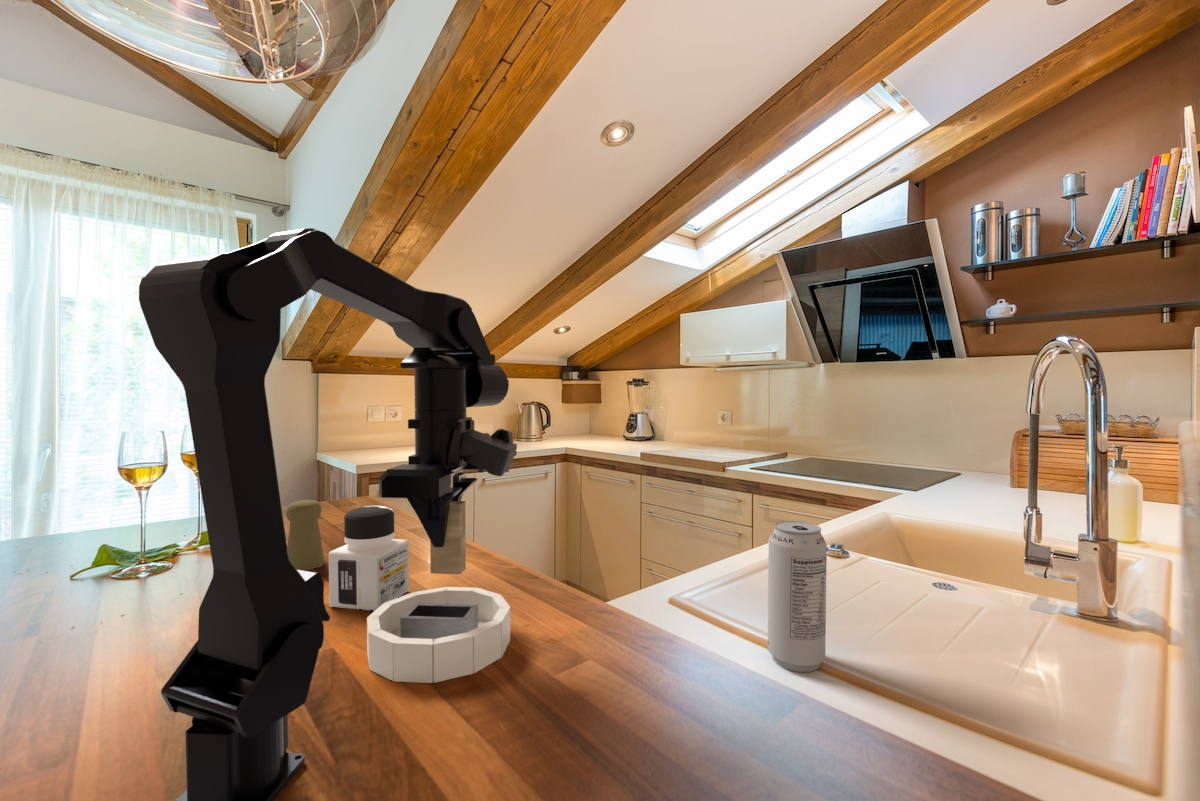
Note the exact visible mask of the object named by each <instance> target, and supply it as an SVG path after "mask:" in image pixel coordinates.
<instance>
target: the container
mask: <svg viewBox="0 0 1200 801" xmlns="http://www.w3.org/2000/svg"><path fill="white" fill-rule="evenodd" d="M343 518H344V519H343V520H344V521H343V522H344V523H343V524H344V528H343V529H344V532H343V533H344V543H345V544H344V545H342V546H339V547H337V548H334V549H333V550H330V551H329V553H328V591H329V592H328V597H329V598H328V599H329V603H328V604H329V607H331V608H340V609H350V610H359V609H362V610H363V611H370V610H373V611H372V612H374V611H375V610H376V609H377V608H379V607H380V606H381V605H382V604H383V603H385V602H388V601H391V600H393V599H396V598H398V597H401V596H404V595H405V594H406V593H407V592H409V590H410V569H409V565H410V564H409V559H410V556H409V554H410V552H409V551H410V550H409V540H408V539H400V538H395V511H394V510H393V509H392V508H390V507H387V506H383V505H369V506H368V505H367V506H360V507H359V506H358V507H355V508H353V509H351V510H349V511H347V512H346V513H345V514H344V517H343ZM362 610H361V611H362Z"/></svg>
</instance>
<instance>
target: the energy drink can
mask: <svg viewBox="0 0 1200 801" xmlns="http://www.w3.org/2000/svg"><path fill="white" fill-rule="evenodd" d="M821 532H822V528H821V526H819V525H817V524H815V523H812V522H807V521H800V520H783V521H777V522H775V523H774V529H773V530H772V533H771V534H770V536H769V537H768V554H767V555H768V558H767V559H768V560H767V561H768V568H767V569H768V572H767V576H768V578H767V581H768V582H767V651H768V653H769V654H770V655H771V656H772V657H771V658H772V660H773V661H774V663H775V664H776V665H778V666H780V667H781V668H783V669H786V670H790V671H792V672H796V673H797V672H799V673H809V672H815V671H816V670H817V669H818V668H820V666H821V664H822V662H824V661H825V659H826V636H827V635H826V631H827V630H826V624H827V622H826V621H827V559H828V558H827V557H828V556H827V555H828V554H827V552H828V551H827V549H828V548H827V545H828V544H827V542H826V540H825V538H824V536H823V534H822V533H821Z"/></svg>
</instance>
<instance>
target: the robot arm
mask: <svg viewBox="0 0 1200 801" xmlns="http://www.w3.org/2000/svg"><path fill="white" fill-rule="evenodd" d="M310 290H311V291H312V292H316V293H318V294H319V295H322V296H325V297H326V298H329V299H331V300H333V301H335V302H338V303H340V304H341V305H342V304H343V305H345V306H347V307H349V308H351V309H353V310H355V311H358V312H361V313H363V314H365V315H367V316H370V317H372V318H374V319H377V320H379V321H381V322H384V323H385V324H386V325H388V326H389V327H391V328H392V330H393V332H394V334H395V336H396V337H397V338H398V339H399V340H401V341H402V342H404V343H405V344H406V345H408V346H410V347H411V348H412V349H413V350H412V352H410V354H409V355H408V356H407V357H405V358H403V360H402V361H401V362H400V364H399V365H400V368H401V369H402V370H404V369H405V370H414V373H413V374H414V378H413V380H414V418H409V419H407V429H408V430H409V429H410V430H411V429H414V447H415V448H414V453H415V454H412V455H409V456H408V459H407V460H408V463H405V464H403V463H402V464H399V465H396V466H393V467H389V468H388V469H386V470H385V471H384V472H383V473H382V474H381V476H379V477H378V497H379V498H383V499H384V498H385V499H387V498H388V499H390V498H391V499H407V501H408V503H409V505H410V506H411V507H412V509H413V511H414V513H415V514H416V516H417V517H418V520H419V521H420V523H421V526H422V527H423V530H424V531H425V533H426V534H427V536H428V539H429V541H430V540H431V542H432V544H433V546H434V547H443V546H444V543H445V537H446V530H447V522H448V514H449V507H450V502H451V501H462V499H463V495H464V494H465V492H467V491H468V489H470V488H471V487H472V486H473V485H474V484H475V483H476V482H477V481H478V478H477V477H467V472H465V471H464V470H478V473H485V472H487V473H488V474H490V475H492V476H494V477H495V476H496V477H502V476H504V475H505V473H508V472H509V471H510V468H511V466H512V463H513V461H514V458H515V457H516V456H517V454H518V451H517V448H518V446H517V445H518V444H516V443H514V440H513V439H514V438H513V432H512V431H509V430H507V429H505V428H499V429H497V430H495V431H494V433H492V434H491V435H490V433H488V432H485V433H483V432H480V431H479V430H478V431H477V430H476V429H475V420H474V419H473V418H472V416H467V415H468V414H467V408H479V407H491V406H496V405H498V404H501V402H503V401H504V399H505V398H506V397H507V395H508V391H509V386H510V381H509V379H508V376H507V374H506V372H505V370H504V369H503V368H502V367H501V366H499V365H498V364H497V363H496V355H495V354H494V353H493V354H492V353H491V350H490V349H489V346H488V344H487V341H486V339H485V337H484V334H483V332H482V329H481V327H480V325H479V323H478V320H477V318H476V315H475V313H474V311H473V309H472V307H471V305H470V304H469V302H467V301H466V300H465V299H463V298H460V297H456V296H453V295H451V294H448V293H442V292H436V291H430V290H429V291H428V290H423V289H420V288H417V287H415V286H414V285H411V284H409V283H408V282H406V281H404V280H402V279H400V278H398V277H397V276H395V275H393V274H391V273H389V271H386V270H385V269H383V268H381V267H379V266H377V265H376V264H375V263H372V262H370V261H369V260H367V259H365V258H364V257H362V256H359V255H358V254H356V253H354V252H353V251H351V250H349V249H347V248H345V247H344V246H342V245H341V244H338V243H336V242H335V241H334V239H333V238H332V237H331V236H330V235H328V233H326V232H324V231H321V230H318V229H316V228H314V227H313V228H307V227H306V228H301V229H293V230H286V231H280V232H273V233H272V234H271V235H269V236H267V237H266V238H264V239H262V240H259V241H257V242H254V243H251V244H250V245H247V246H243V247H241V248H237V249H234V250H232V251H228V252H225V253H219V254H217V253H216V254H211V255H203V256H202V255H201V256H197V257H195V256H194V257H188V258H180V259H173V260H172V259H171V260H166V261H163V262H162V263H159V264H157V265H154V267H152V269H151V270H150V271H148V273H147V274H146V275H145V276H143V277H142V278H141V280H140V282H139V285H138V301H139V305H140V308H141V311H142V313H143V316H144V319H145V321H146V325H147V327H148V329H149V330H148V331H149V334H150V336H151V338H152V342H153V344H154V346H155V349H156V350H157V351H158V352H159V354H160V355H161V357H162V358H163V359H164V361H165V362H166V363H167V365H168V366H169V367H170V369H171V370H172V371H173V373H174V374H175V375H176V377H177V378H178V379H179V381H180V382H181V384H182V387H183V389H184V394H185V399H186V406H187V411H188V418H189V424H190V431H191V437H192V442H193V450H194V456H195V461H196V462H195V463H196V467H197V474H198V482H199V487H200V494H201V499H202V500H201V501H202V506H203V512H204V518H205V525H206V531H207V535H208V536H207V537H208V543H209V548H210V556H211V561H212V569H213V570H212V573H213V574H212V578H211V580H210V583H209V584H208V587H207V590H206V592H205V594H204V597H203V599H202V601H201V603H200V606H199V608H198V632H197V633H198V634H197V640H196V642H195V643H194V645H192V648H191V649H190V650H189V652H188V653H187V654H186V656H185V657H184V658H183V660H182V661H181V662H180V664H179V665H178V666H177V668H176V669H175V670H174V672H173V673H172V675H171V676H170V677H169V678H168V679H167V681H166V683H165V684H164V685H163V686H162V688H161V690H160V693H161V696H162V698H163V700H164V702H165V704H166V706H167V707H168V709H169V712H173V713H181V714H184V715H186V716H189V717H192V719H191V726H190V727H189V728H188V729H186V730H185V763H186V764H185V765H186V766H185V767H186V768H185V769H186V774H185V775H186V790H185V791H184V792H183V793H182V794H181V795H179V796H178V797H177V799H175V800H174V801H272V800H273V799H274V797H275V796H276V795H277V794H278V793H279V792H280V791H281V790H282V788H283V787H284V786H285V785H286V784H287V783H288V782H289V780H290V779H291V778H293V776H294V775H295V774H296V772H297V771H298V770H299V769H300V768H301V767H302V766H303V765H304V763H305V762H306V754H305V753H302V752H300V753H299V752H288V748H289V731H288V730H289V728H288V727H289V724H288V722H289V720H288V714H290V713H292V712H293V711H296V710H297V709H299V708H300V707H301V706H303V705H305V703H306V701H307V698H308V694H309V691H310V687H311V683H312V679H313V675H314V671H315V668H316V664H317V660H318V656H319V652H320V650H321V649H322V647H323V643H324V640H325V625H324V622H329V621H330V619H331V616H330V615H329V613H328V612H327V608H326V607H325V606H326V605H325V599H324V598H325V597H324V596H325V595H324V592H325V583H324V579H323V576H322V574H321V573H319V572H315V571H311V570H308V571H305V570H299V569H296V568H295V567H294V565H293V564H292V563H291V561H290V558H289V555H288V549H287V543H288V541H287V535H286V530H285V529H286V528H285V522H284V516H283V515H284V514H283V507H282V506H283V505H282V500H281V493H280V486H279V478H278V471H277V464H276V457H275V449H274V441H273V435H272V433H273V432H272V427H271V421H270V414H269V412H270V411H269V406H268V405H269V404H268V398H267V392H266V375H267V373H268V372H269V369H270V366H271V363H272V361H273V359H274V356H275V354H276V351H277V350H278V347H279V344H280V342H281V331H282V330H281V327H282V326H281V322H282V319H281V318H282V309H284V308H285V307H287V306H288V305H290V304H292V303H293V302H295V301H297V300H299V299H301V298H302V297H304V296H305V295H307V294H308V292H309V291H310Z"/></svg>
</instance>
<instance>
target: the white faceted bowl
mask: <svg viewBox="0 0 1200 801" xmlns="http://www.w3.org/2000/svg"><path fill="white" fill-rule="evenodd" d="M415 603H429V604H463V605H478V628H476V629H474V630H472V631H470V632H467V633H462V634H457V635H451V636H446V637H441V638H436V639H421V638H401V622H400V618H401V617H402V616H403V615H404V614H405V613H406V612H407V611H408V610H409V609H410V608H411V607H412V606H413V605H414V604H415ZM510 642H511V605H510V604H509V603H508V602H507V601H506V599H505V598H504V597H503V595H502V594H500V593H497V592H493V591H489V590H487V589H484V588H480V587H467V586H464V587H461V586H444V587H436V588H432V589H425V590H424V589H423V590H418V591H413V592H409V593H407V594H403V595H401V596H400V597H399V598H396V599H393V600H391V601H388V602H385V603H383V604H382V605H381V606H380V607H379V608H377V609H376V610H375V611H372V613H371V614H369V615H368V616H367V617H366V648H367V649H366V653H367V662H368V668H369V671H371V672H373V673H375V674H377V675H379V676H381V677H383V678H386V679H387V680H390V681H391V680H392V682H394V683H395V682H396V683H397V682H398V683H421V684H422V683H424V684H433V683H440V682H444V681H448V680H452V679H457V678H461V677H466V676H469V675H473V674H476V673H478V672H479V671H481V670H483V669H484V668H486V667H488V666H489V665H491V664H492V663H494V662H496V661H499V659H501V658H502V657H503V656H504V655H505V652H506V649H507V647H508V645H509V644H510Z"/></svg>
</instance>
